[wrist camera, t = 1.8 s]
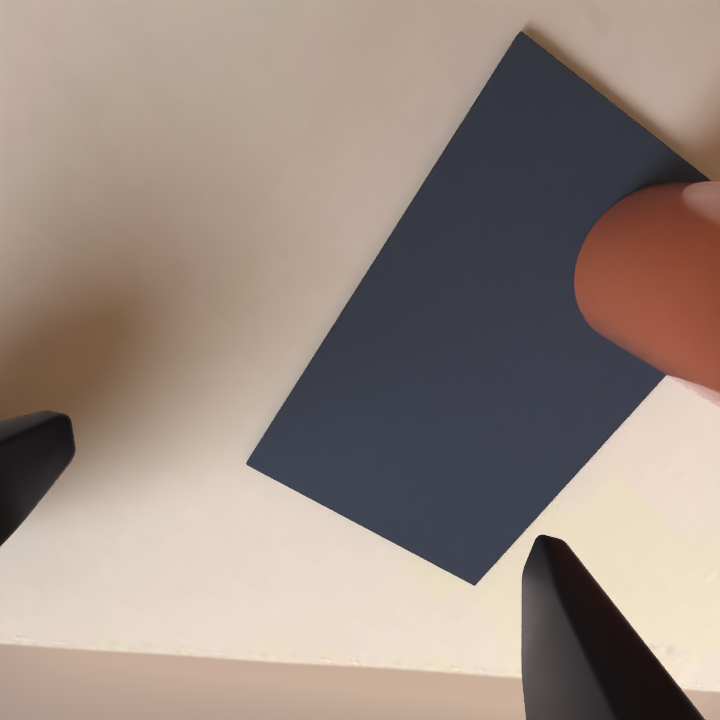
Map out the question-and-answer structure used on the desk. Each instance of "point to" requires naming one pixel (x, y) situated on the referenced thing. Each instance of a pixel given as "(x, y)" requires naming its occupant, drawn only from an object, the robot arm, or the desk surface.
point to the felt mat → (477, 330)
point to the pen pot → (659, 281)
